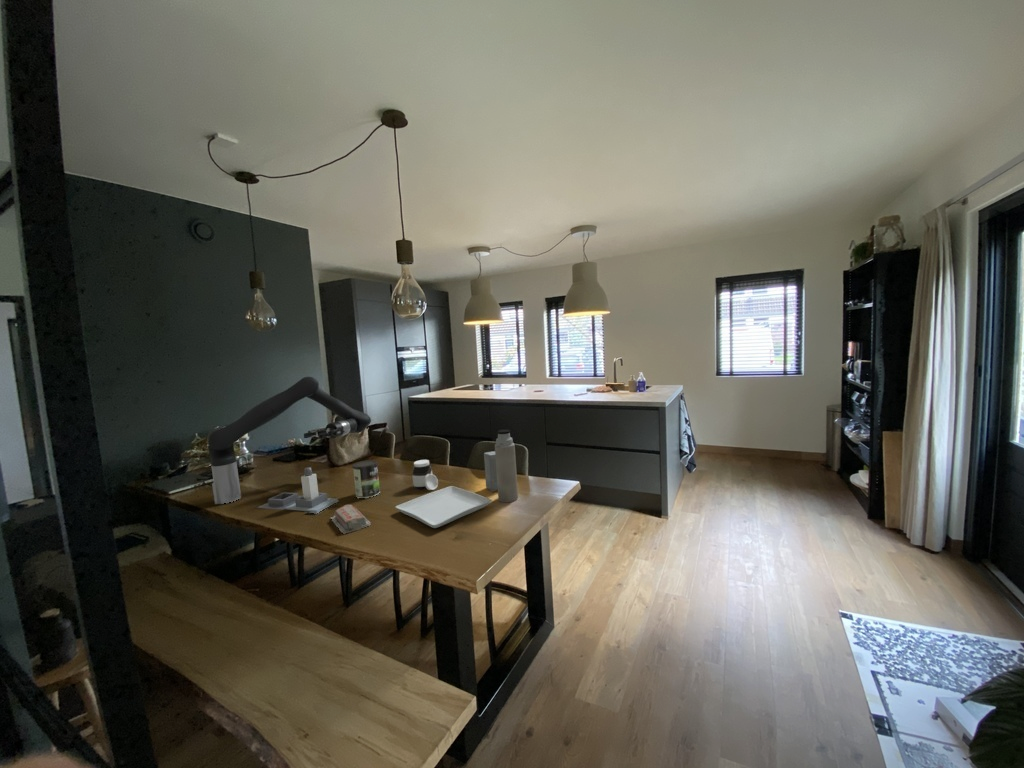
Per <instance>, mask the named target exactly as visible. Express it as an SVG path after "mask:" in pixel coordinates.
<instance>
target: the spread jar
mask: <svg viewBox="0 0 1024 768" xmlns="http://www.w3.org/2000/svg"><path fill="white" fill-rule="evenodd" d="M411 477H412V484H413V487H414V489H416V490H420V491H421V490H426V489H427V491H434V490H436V489H437V488H438V486H439V480H438V477H437V476H436V475H435V474H433V469H432V466H431V465H430V460H429V459H420V460H416V461H414V462H413V469H412V476H411Z"/></svg>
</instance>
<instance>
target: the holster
mask: <svg viewBox="0 0 1024 768" xmlns="http://www.w3.org/2000/svg"><path fill="white" fill-rule="evenodd" d="M302 496H303V495H299V493H298V492H281V493H279V494H277V495H274V496H272V497H270V498H267V503H264V504H262V505H259V506H257V507H256V508H257V509H258V508H259V509H260V508H261V509H270V510H271V509H272V510H286V509H285V508H286V507H288V506H290V505H292V504H294V503H296V502H295V500H296V499H298V498H300V497H302Z"/></svg>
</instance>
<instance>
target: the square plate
mask: <svg viewBox="0 0 1024 768" xmlns="http://www.w3.org/2000/svg"><path fill="white" fill-rule="evenodd" d="M492 501H493V499H490V498H488V497H486V496H483V495H481V494H478V493H475V492H473V491H469V490H466V489H464V488H459V487H457V486H453V485H450V486H447V487H443V488H441V489H438V490H435V491H434V490H433V491H432V492H429V493H426V494H424V495H421V496H418V497H415V498H413V499H410V500H409V501H405V502H403V503H400V504H398V505H396V506H394V509H396V510H398V511H399V512H401V513H402V514H403V515H406V516H409V517H411V518H413V519H415V520H417V521H419V522H421V523H423V524H425V525H426V526H428V527H431V528H433V529H437V528H440V527H443V526H445V525H447V524H449V523H451V522H454V521H456V520H458V519H460V518H463V517H464V516H467V515H469V514H472V513H474V512H476V511H479V510H481V509H484V508H485V507H486V506H488V505H489V504H490V503H491V502H492Z"/></svg>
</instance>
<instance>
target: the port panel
mask: <svg viewBox="0 0 1024 768" xmlns="http://www.w3.org/2000/svg"><path fill="white" fill-rule="evenodd" d="M318 493H319V496H318V497H316V498H314V499H312V500H311V499H304V497H303V495H301V496H302V497H300V498H298V499H296V500H295V502H296V503H294V504H292V505H290V506H288V507H286V508H285V509H284V510H289V511H292V510H293V511H300V512H301V511H304V512H306V514H310V513H314V515H318V514H320V513H321V512H320V511H322V510H323V509H325V508H327V507H329V506H330V505H332V504H334V503H336V502H338V503H339V498H332V497H329V498H328V492H318ZM336 504H337V503H336ZM334 505H335V504H334ZM329 508H330V507H329ZM327 509H328V508H327ZM325 510H326V509H325ZM319 512H320V513H319ZM322 512H323V511H322ZM317 513H318V514H317Z"/></svg>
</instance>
